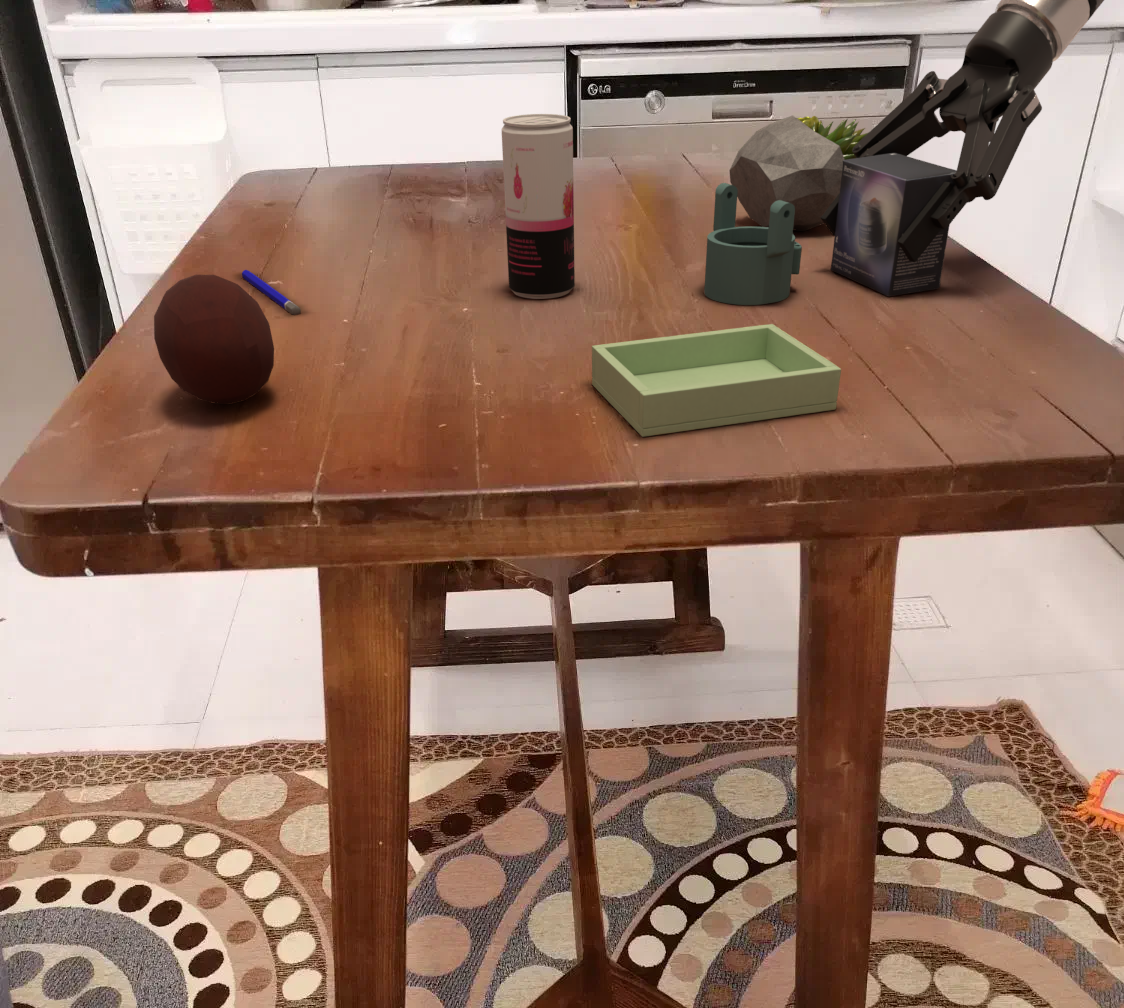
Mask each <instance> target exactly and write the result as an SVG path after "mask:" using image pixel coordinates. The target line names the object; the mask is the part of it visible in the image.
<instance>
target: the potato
mask: <svg viewBox="0 0 1124 1008" xmlns="http://www.w3.org/2000/svg"><path fill="white" fill-rule="evenodd" d="M258 302H259V301H257V300H256V299H255V298H254V297H253V296H252V295H250V294H249V293H248V292H247V291H246V290H245V289H244V288H243V287H242V286H241V285H239V284H238V283H236V282H233V281H231V280H228V279H226V278H224V277H221V276H218V275H215V274H194V275H190V276H188V277H185V278H182V279H179V281H177V282H176V283H175V284H173V285H172V286H171V287H169V288H168V289H167V290H166V291H165V293H164V294H163V296H162V298H161V301H160V303H159V305H158V307H157V309H156V311H155V314H154V316H153V330H154V331H153V332H154V333H153V339H154V342H155V346H156V350H157V352H158V356H159V359H160V361H161V363H162V365H163V366H164V368H165V370H166V371H167V374H168V375H169V377H170V378H171V380H172V381H173V382H174V383H175V384H176V385H177V386H178V387H179V388H180V389H181V391H183V392H184V393H187V394H189V395H191V396H192V397H194V398H196V399H199V400H200V401H204V402H208V403H212V404H220V405H222V404H223V405H232V404H236V403H240V402H245V401H246V400H248V399H250V398H252V397H253V396H255V395H256V394H258V393H259V392H260V390H262V389H263V388H264V386H265V385H266V384H267V383H268V381H269V380H270V377H271V374H272V371H273V368H274V365H275V345H274V341H273V340H274V339H273V336H272V330H271V326H270V322H269V321H268V318H267V317H266V315H265V313H264V311H263V309H262V308H261V306H260V304H259V303H258Z"/></svg>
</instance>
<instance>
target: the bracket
mask: <svg viewBox="0 0 1124 1008" xmlns="http://www.w3.org/2000/svg"><path fill="white" fill-rule="evenodd" d="M737 193H738V190H737V188H736V187H735V186H734V185H732V184H731V183H727V182H721V183H719V184H718V185H717V186H716V188H715V195H714V210H713V226H712V227H713V229H712V231H711V232H709V233H708V234H707V237H706V251H705V252H706V254H705V269H704V270H705V272H704V288H703V289H704V290H703V293H704V296H705V297H706V298H708V299H711V300H713V301H716V302H719V303H723V304H727V305H728V304H729V305H737V306H759V305H760V306H761V305H767V304H772V303H777V302H778V303H779V302H782V301H784V300H786V299H787V298H789V296H790V293H791V282H792V275H799V274H800V270H801V259H802V251H803V247H802V246H803V245H801V244H800V243H799V242H798V241H796V236H795V235H794V230H793V225H794V215H795V207H794V205H793V204H791V203H788V202H785V201H781V200H777V201H775V202H774V203H773V204H772V205H771V208H770V219H769V228H768V227H763V226H751V225H749V226H748V225H747V226H736V221H737V220H736V219H737V203H738V197H737Z"/></svg>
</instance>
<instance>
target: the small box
mask: <svg viewBox="0 0 1124 1008" xmlns="http://www.w3.org/2000/svg"><path fill="white" fill-rule="evenodd" d="M956 171H957V169H953V168H950V167H946V166H942V165H939V164H935V163H932V162H928V161H925V160H921V159H917V158H914V157H911V156H909V155H908V156H904V155H901V154H897V153H889V154H882V155H875V156H868V157H861V158H854V159H847V160H843V167H842V176H841V185H840V194H839V202H838V212H837V220H836V229H835V236H834V239H833V247H832V256H831V264H830V270H831V271H832V272H834V273H836V274H838V275H841V276H843V277H846V278H847V279H849V280H852V281H854V282H856V283H858V284H861V285H863V286H865V287H866V288H867V287H868V288H869V289H871V290H873V291H876V292H877V293H880V294H883V295H884V296H886V297H895V296H901V295H907V294H913V293H919V292H920V293H921V292H927V291H932V290H933V291H934V290H938V289H940V287H941V279H942V273H943V267H944V262H945V261H944V260H945V255H946V248H947V243H948V237H949V232H950V225H951V224H950V225H949V226H948V227H946V228H945V229H941V231H940V232H939V233H938V234H937V236H936V237H935V238H934V239H933V241H932V242H931V243H930V244H929V246H928V247H927V248H926V249H925V251H924V252H923V253H922V254H921V256H920V257H919V258H918V260H917V261H916V262H912V261H909V259H908V258H907V256H906V254H905V253H904V251H903V250H902V248H901V247H900V245H899V244H898V242H897V241H898V240H899V239H900V238H901V236H902V235H903V234H904V233H905V231H906V230H907V229H908V227H909V226H910V225H911V224H912V222H913V221H914V220H915V219H916V217H917V216H918V215H919V213H920V212H921V211H922V210H923V208H924V207H925V206H926V205H927V203H928V202H929V201H930V199H931V198H932V197H933V196H934V194H935V193H936V192H937V191H938V189H939V188H940V187H941V186H942V184H943V183H944V182H949V183H951V184H952V186H953V187H954V186H955V183H954V181H953V180H952V178H951V175H953V177H955V176H954V174H955V173H956Z"/></svg>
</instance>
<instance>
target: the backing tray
mask: <svg viewBox="0 0 1124 1008" xmlns="http://www.w3.org/2000/svg"><path fill="white" fill-rule="evenodd" d="M841 374H842V368H841V367H839V366H837V365H836V364H835V363H834V362H832V361H831V360H829V359H827V358H826V357H824V356H823V355H821V354H819V353H818V352H816V351H815V350H813V349H812V348H810V347H809V346H807V345H805V343H802V342H801V341H800V340H798V339H796V338H795V337H794V336H792V335H790V334H788V333H787V332H786V331H784V330H783V329H781V328H780V327H778V326H776V325H775V324H773V323H770V324H769V323H768V324H760V325H751V326H744V327H743V326H742V327H734V328H726V329H719V330H710V331H703V332H694V333H686V334H685V333H684V334H678V335H669V336H660V337H652V338H645V339H635V340H627V341H619V342H611V343H605V344H595V345H594V344H593V345H591V385H592V386H593V387H594V388H595V389H596V391H598V392H599V393H600V394H601V396H603V397H604V399H605V400H606V401H607V402H608V403H609V404H610V405H611V406H612V407H613V408H614V409H615V410H616V411H617V413H619V414H620V415H621V416H622V417H623V418H624V420H626V422H627V423H628V424H629V425H630V426H631V427H632V428H633V429H634V431H636V432H637V433H638V434H639V435H640V436H641V437H642V438H645V437H651V436H659V435H665V434H666V435H667V434H673V433H679V432H686V431H687V432H688V431H693V430H701V429H707V428H708V429H709V428H715V427H716V428H717V427H721V426H729V425H737V424H743V423H751V422H757V421H764V420H765V421H766V420H771V419H779V418H784V417H793V416H799V415H805V414H806V415H807V414H813V413H820V412H827V411H835V410H837V407H838V396H839V390H840V383H841Z"/></svg>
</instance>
